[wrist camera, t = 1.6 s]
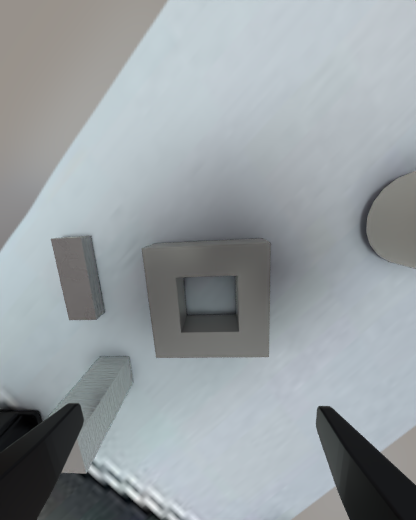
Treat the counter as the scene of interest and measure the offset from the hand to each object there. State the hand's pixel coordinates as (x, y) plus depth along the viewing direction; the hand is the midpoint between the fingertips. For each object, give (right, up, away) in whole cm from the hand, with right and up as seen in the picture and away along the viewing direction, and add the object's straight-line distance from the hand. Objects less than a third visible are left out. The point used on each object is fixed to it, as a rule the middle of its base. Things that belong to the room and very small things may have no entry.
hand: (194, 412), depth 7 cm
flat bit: (-12, +4, +13) cm, 18 cm away
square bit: (-10, -7, +14) cm, 19 cm away
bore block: (+1, +3, +12) cm, 12 cm away
